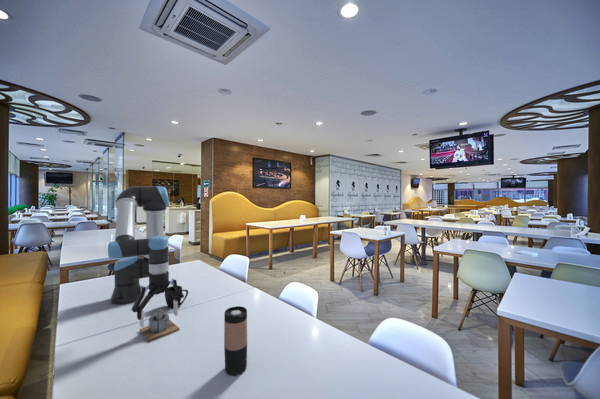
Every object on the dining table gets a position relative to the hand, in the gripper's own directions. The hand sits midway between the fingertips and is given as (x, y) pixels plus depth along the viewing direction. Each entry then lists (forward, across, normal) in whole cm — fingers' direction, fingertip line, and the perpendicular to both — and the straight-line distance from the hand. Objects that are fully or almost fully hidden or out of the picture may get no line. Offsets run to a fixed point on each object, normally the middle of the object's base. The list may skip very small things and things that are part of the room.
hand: (159, 320), depth 109 cm
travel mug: (+5, +9, -45) cm, 46 cm away
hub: (+4, 0, 0) cm, 4 cm away
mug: (+5, +15, +19) cm, 25 cm away
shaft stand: (+5, 0, 0) cm, 5 cm away
